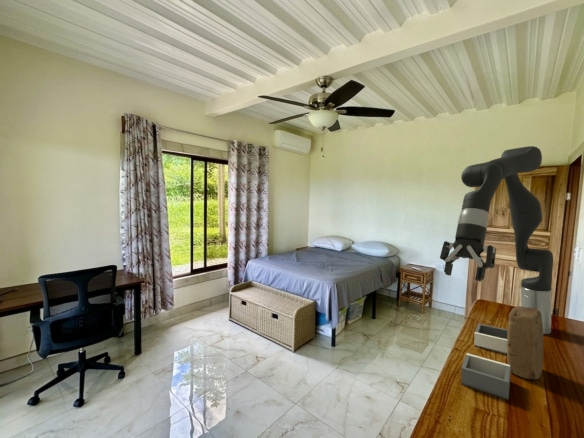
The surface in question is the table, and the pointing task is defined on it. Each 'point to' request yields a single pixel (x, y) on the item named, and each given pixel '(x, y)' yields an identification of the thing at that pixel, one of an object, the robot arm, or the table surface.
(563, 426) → the table surface
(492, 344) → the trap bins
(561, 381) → the table surface
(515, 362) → the block
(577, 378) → the table surface
